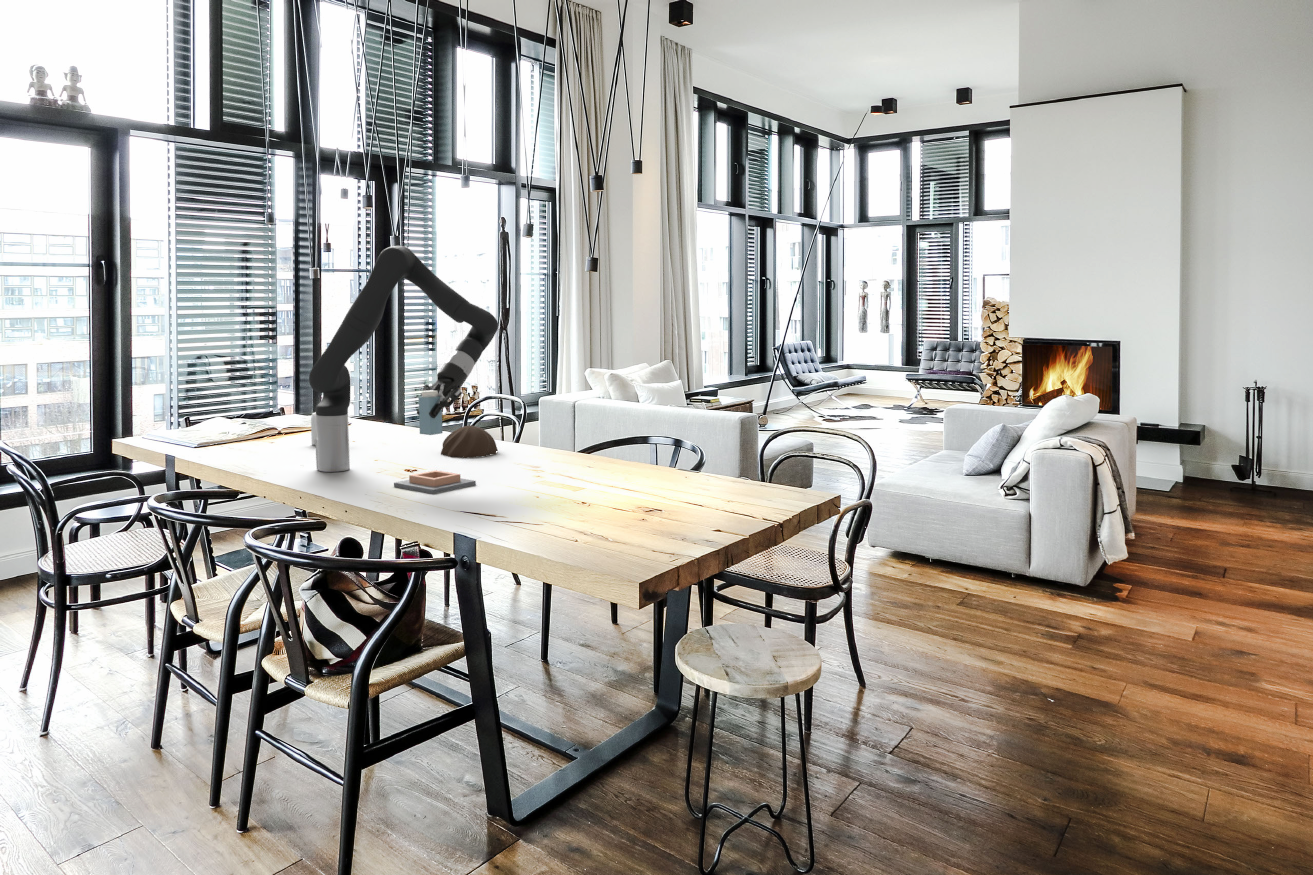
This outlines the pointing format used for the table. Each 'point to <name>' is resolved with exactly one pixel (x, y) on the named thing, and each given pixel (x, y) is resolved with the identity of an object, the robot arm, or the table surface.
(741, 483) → the table surface
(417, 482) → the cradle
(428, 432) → the ball-topped blue post
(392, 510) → the table surface
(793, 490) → the table surface
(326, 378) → the robot arm
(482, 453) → the decorative dome
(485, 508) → the table surface
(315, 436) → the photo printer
